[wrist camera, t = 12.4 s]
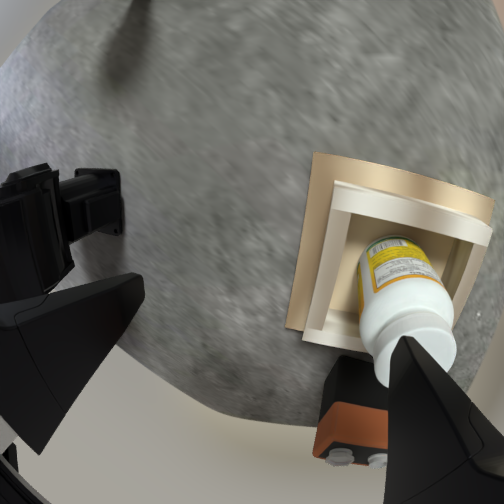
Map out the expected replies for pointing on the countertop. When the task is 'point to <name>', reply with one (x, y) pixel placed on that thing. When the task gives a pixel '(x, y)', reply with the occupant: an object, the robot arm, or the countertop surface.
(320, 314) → the base
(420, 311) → the supplement bottle
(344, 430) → the battery
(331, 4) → the countertop surface
